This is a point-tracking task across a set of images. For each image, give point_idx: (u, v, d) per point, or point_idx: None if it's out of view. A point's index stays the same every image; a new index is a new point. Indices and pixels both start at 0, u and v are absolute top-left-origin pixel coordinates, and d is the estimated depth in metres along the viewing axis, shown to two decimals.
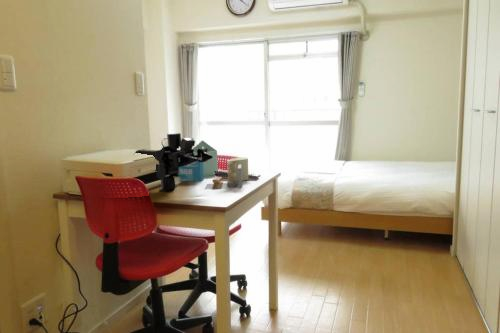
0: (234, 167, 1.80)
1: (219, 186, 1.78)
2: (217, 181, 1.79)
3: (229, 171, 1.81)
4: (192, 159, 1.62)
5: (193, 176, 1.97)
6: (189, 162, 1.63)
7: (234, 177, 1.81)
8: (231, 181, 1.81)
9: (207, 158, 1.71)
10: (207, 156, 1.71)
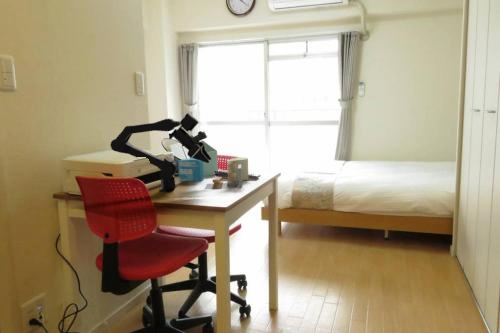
0: (234, 167, 1.80)
1: (219, 186, 1.78)
2: (217, 181, 1.79)
3: (229, 171, 1.81)
4: (205, 159, 1.76)
5: (193, 176, 1.97)
6: (200, 159, 1.75)
7: (234, 177, 1.81)
8: (231, 181, 1.81)
9: None
10: (205, 155, 1.85)
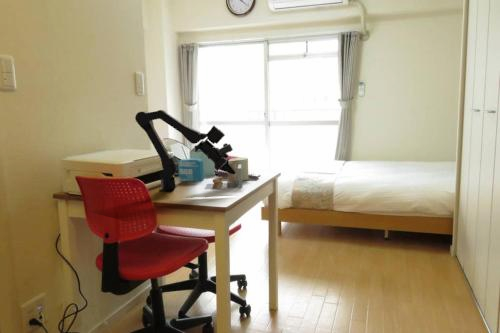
0: (234, 167, 1.80)
1: (219, 186, 1.78)
2: (217, 181, 1.79)
3: None
4: (231, 171, 1.80)
5: (193, 176, 1.97)
6: (227, 171, 1.79)
7: (234, 177, 1.81)
8: (231, 181, 1.81)
9: None
10: None
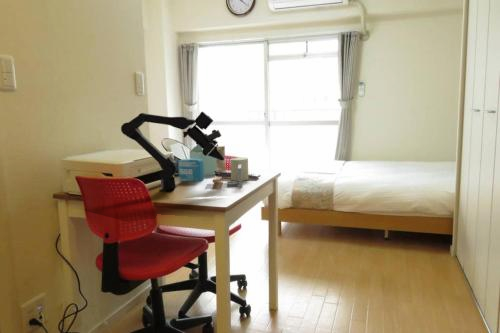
0: (223, 153, 1.79)
1: (219, 186, 1.78)
2: (217, 181, 1.79)
3: None
4: (220, 157, 1.79)
5: (193, 176, 1.97)
6: (216, 157, 1.78)
7: (223, 163, 1.80)
8: (220, 167, 1.80)
9: None
10: None
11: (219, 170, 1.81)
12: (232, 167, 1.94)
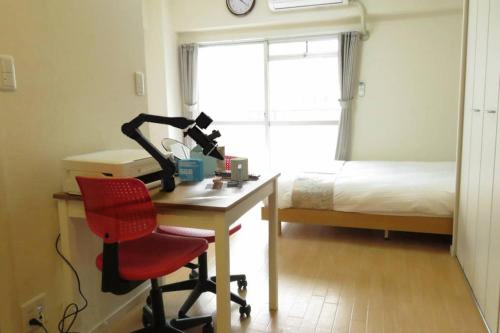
0: (223, 153, 1.79)
1: (219, 186, 1.78)
2: (217, 181, 1.79)
3: None
4: (220, 157, 1.79)
5: (193, 176, 1.97)
6: (216, 157, 1.78)
7: (223, 163, 1.80)
8: (220, 167, 1.80)
9: None
10: None
11: (219, 170, 1.81)
12: (232, 167, 1.94)
